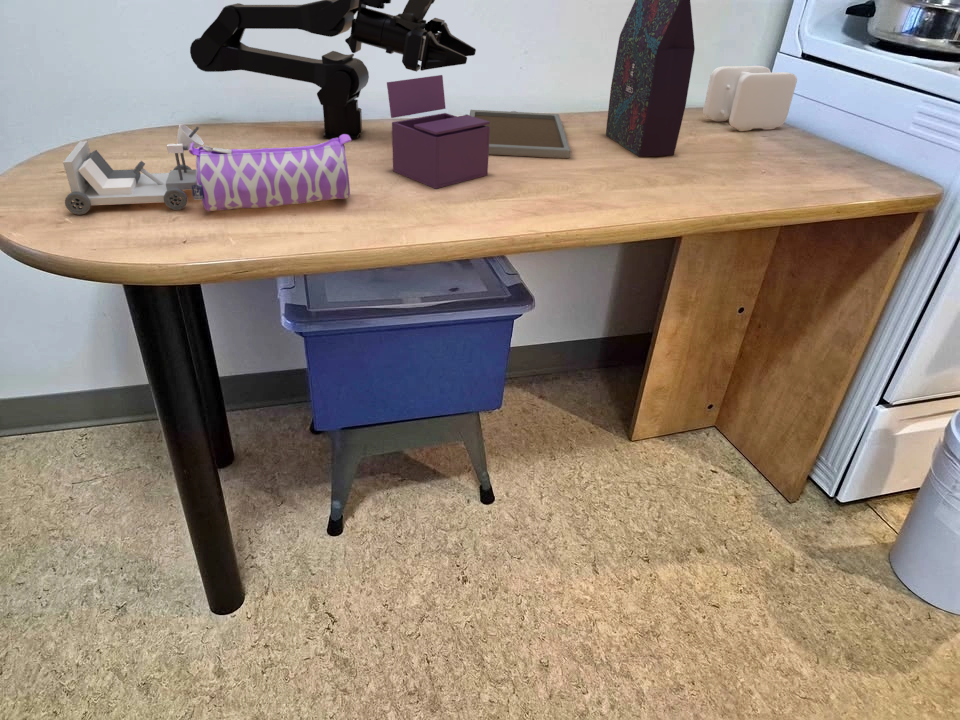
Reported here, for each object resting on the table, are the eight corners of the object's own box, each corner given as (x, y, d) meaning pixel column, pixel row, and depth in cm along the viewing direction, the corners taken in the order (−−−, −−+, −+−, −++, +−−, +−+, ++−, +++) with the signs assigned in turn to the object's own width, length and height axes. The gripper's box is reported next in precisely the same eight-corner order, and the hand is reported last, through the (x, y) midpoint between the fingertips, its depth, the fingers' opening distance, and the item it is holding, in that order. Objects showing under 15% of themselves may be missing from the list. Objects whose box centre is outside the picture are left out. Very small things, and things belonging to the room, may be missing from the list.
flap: (392, 117, 110) (391, 117, 110) (445, 108, 117) (444, 108, 117) (388, 82, 108) (386, 82, 108) (442, 74, 115) (441, 75, 115)
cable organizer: (727, 132, 147) (741, 74, 140) (699, 120, 155) (710, 65, 149) (784, 129, 151) (800, 73, 145) (753, 117, 159) (767, 64, 153)
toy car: (202, 117, 101) (196, 138, 92) (213, 182, 107) (208, 209, 97) (67, 119, 97) (46, 142, 88) (86, 187, 102) (68, 215, 93)
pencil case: (197, 222, 93) (184, 152, 88) (195, 199, 100) (183, 133, 95) (358, 208, 100) (355, 142, 95) (346, 187, 107) (342, 125, 102)
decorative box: (638, 133, 143) (664, -20, 128) (678, 156, 130) (711, -11, 115) (602, 134, 141) (624, -21, 126) (638, 158, 128) (668, -12, 112)
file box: (392, 171, 115) (391, 117, 110) (444, 159, 122) (445, 107, 117) (435, 188, 109) (436, 132, 104) (487, 175, 115) (490, 121, 111)
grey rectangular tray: (465, 144, 124) (470, 106, 150) (465, 153, 125) (470, 114, 150) (570, 150, 125) (558, 110, 150) (569, 158, 125) (557, 118, 151)
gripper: (378, -15, 109) (472, 12, 109) (407, -22, 124) (489, 1, 124) (368, 58, 115) (457, 84, 115) (397, 42, 131) (475, 65, 131)
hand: (471, 56), depth 121 cm, fingers open, 9 cm apart
